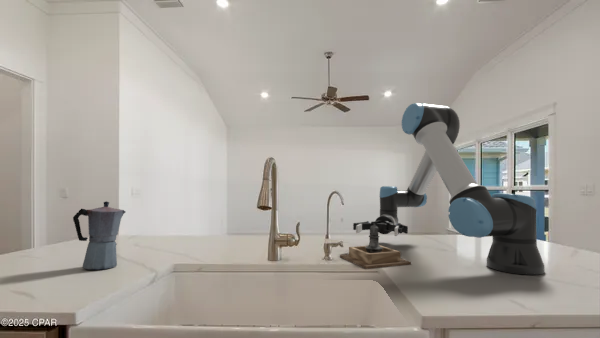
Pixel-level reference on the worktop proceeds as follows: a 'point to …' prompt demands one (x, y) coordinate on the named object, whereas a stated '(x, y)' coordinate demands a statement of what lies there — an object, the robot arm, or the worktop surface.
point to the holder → (374, 257)
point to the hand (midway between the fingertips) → (375, 230)
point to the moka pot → (100, 236)
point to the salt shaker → (373, 241)
